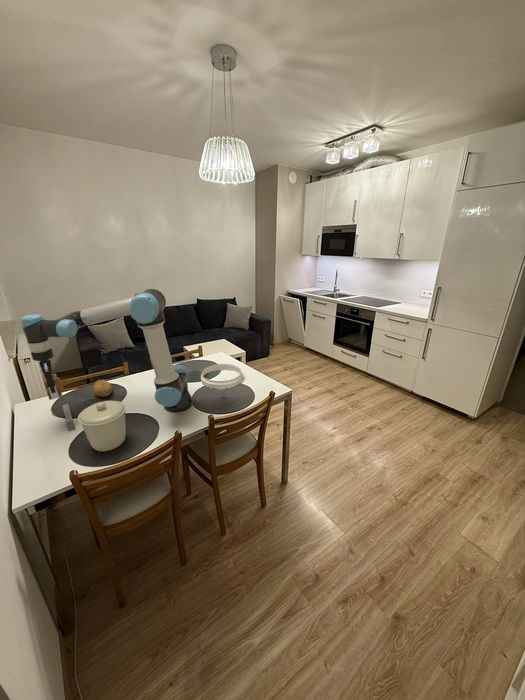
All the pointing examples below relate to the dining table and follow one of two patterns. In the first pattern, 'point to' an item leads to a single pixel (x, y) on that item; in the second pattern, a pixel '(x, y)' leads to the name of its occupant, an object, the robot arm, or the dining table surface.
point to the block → (55, 384)
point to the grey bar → (68, 417)
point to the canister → (104, 424)
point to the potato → (102, 388)
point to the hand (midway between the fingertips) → (54, 395)
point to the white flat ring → (221, 384)
